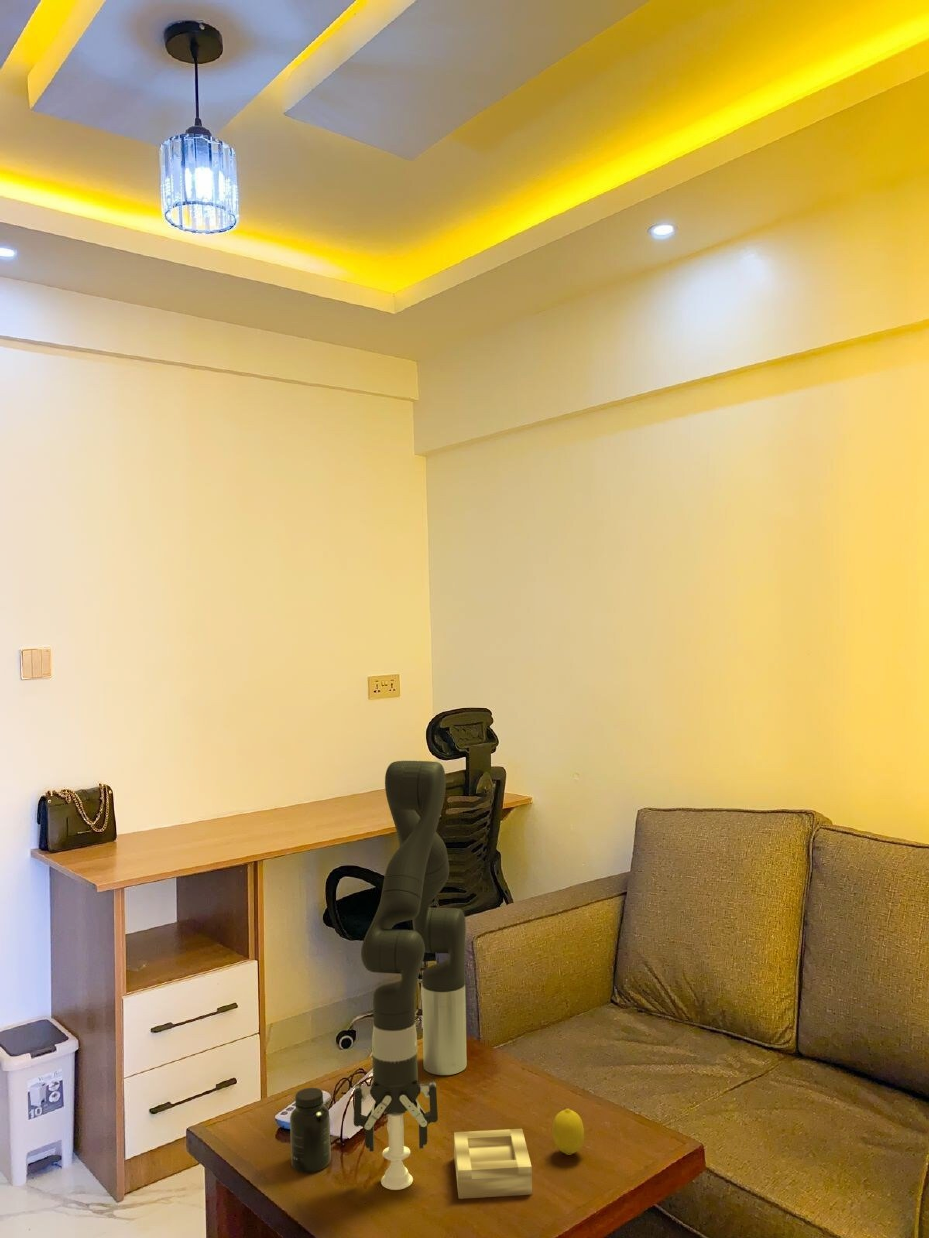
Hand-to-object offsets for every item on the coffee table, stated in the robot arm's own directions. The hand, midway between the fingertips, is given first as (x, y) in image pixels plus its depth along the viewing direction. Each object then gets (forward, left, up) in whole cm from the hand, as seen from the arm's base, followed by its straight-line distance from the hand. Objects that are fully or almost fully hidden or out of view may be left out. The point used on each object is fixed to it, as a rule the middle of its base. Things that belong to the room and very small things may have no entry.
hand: (396, 1147), depth 158 cm
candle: (0, 0, -6) cm, 6 cm away
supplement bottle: (-7, -15, -6) cm, 18 cm away
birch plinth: (0, +16, -6) cm, 17 cm away
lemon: (-5, +30, -6) cm, 31 cm away
